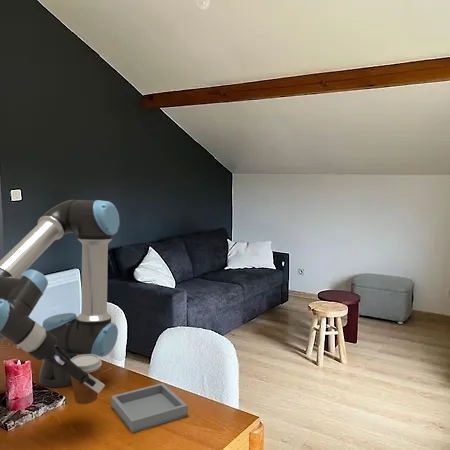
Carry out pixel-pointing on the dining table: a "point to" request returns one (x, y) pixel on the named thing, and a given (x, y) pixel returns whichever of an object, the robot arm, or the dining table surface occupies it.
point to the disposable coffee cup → (88, 365)
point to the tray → (148, 407)
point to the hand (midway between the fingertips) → (96, 382)
